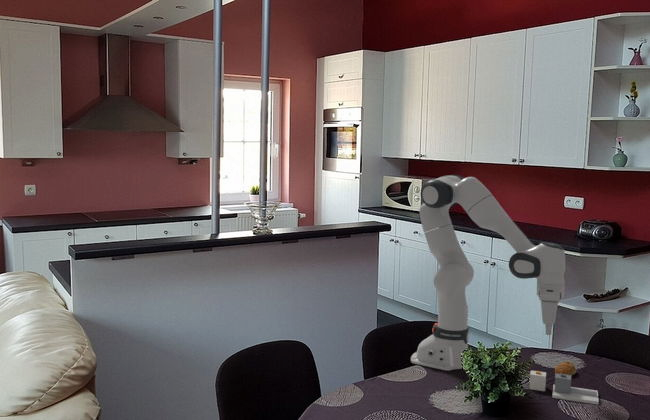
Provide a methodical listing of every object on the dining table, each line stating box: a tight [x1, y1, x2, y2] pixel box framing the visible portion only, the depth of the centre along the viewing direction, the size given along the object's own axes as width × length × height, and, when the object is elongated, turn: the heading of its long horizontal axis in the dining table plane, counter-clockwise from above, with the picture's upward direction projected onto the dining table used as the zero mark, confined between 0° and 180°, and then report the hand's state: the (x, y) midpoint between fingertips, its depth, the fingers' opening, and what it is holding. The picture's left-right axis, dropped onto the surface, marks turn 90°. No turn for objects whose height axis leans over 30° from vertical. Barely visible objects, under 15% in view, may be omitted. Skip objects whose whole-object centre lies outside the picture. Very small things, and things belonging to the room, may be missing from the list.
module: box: [529, 370, 547, 392], centre depth 212 cm, size 5×4×6 cm
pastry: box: [554, 361, 577, 377], centre depth 226 cm, size 9×7×4 cm
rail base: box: [551, 372, 600, 406], centre depth 206 cm, size 14×10×7 cm
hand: (549, 330), depth 210 cm, fingers open, 8 cm apart
